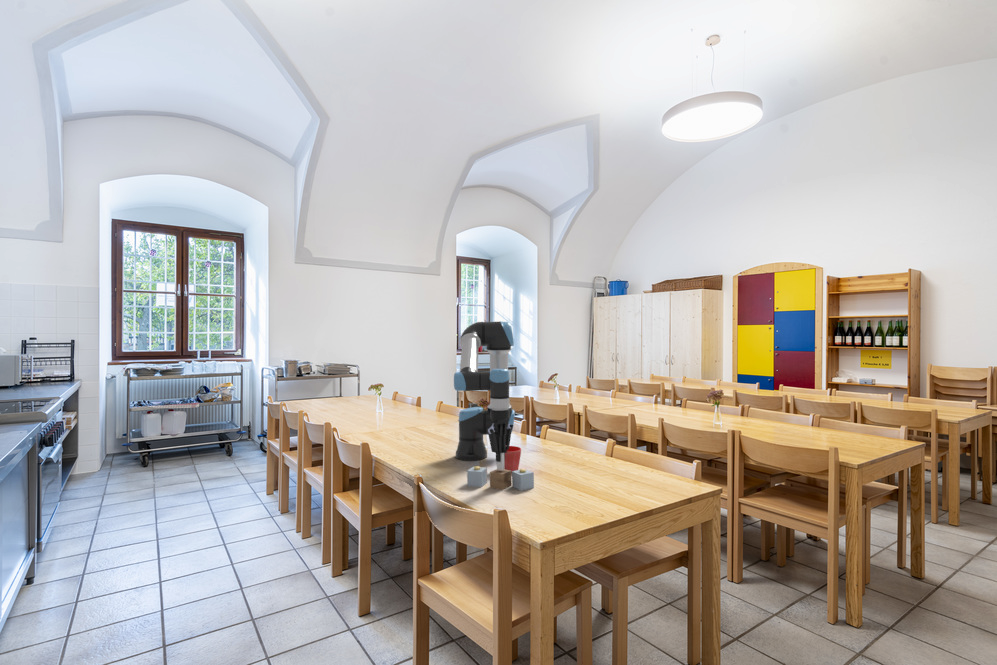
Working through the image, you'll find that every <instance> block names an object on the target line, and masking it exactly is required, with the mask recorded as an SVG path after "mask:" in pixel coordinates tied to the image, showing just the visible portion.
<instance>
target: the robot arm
mask: <svg viewBox="0 0 997 665" xmlns="http://www.w3.org/2000/svg"><path fill="white" fill-rule="evenodd" d="M512 327H513V326H512V324H511V323H510V322H509V321H501V320H500V321H477V322H474V323H471V325H468V327H466V328H465V329H464V331H462V333H461V335H460V339H459V340H460V341H459V342H460V343H459V345H460V346H461V352H460V353H461V354H460V364H459V365H460V366H459V372H454V375H453V387H454V388H453V389H454V390H455V391H459V392H460V391H461V392H468V391H469V392H472V391H476V392H477V391H489V402H490V403H489V404H488V405H487V409H486V410H485V409H484V408H483V407H482V406H474V407H467V408H464V409H461V410H460V411H459V413H458V444H457V448H456V451H455V458H456V459H457V460H460V461H480V460H483V459H486V458H487V457H488V450H487V448H486V444H485V442H484V435H485V436H488V439H489V444H490V449H491V452H492V453H495V462H496V469H498V470H505V469H504V460H505V453H507V451H506V450H509V446H511V445H510V443H511V439H512V438H511V436H512V433H513V430H514V424H515V409H513V408H512V405H511V404H510V402H511V401H510V371H509V352H511V350H512V347H514V345H515V343H514V342H515V341H514V335H513V334H514V333H513V328H512ZM481 347H486V351H487V352H488V354H489V371H478V367H479V348H481Z"/></svg>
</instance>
